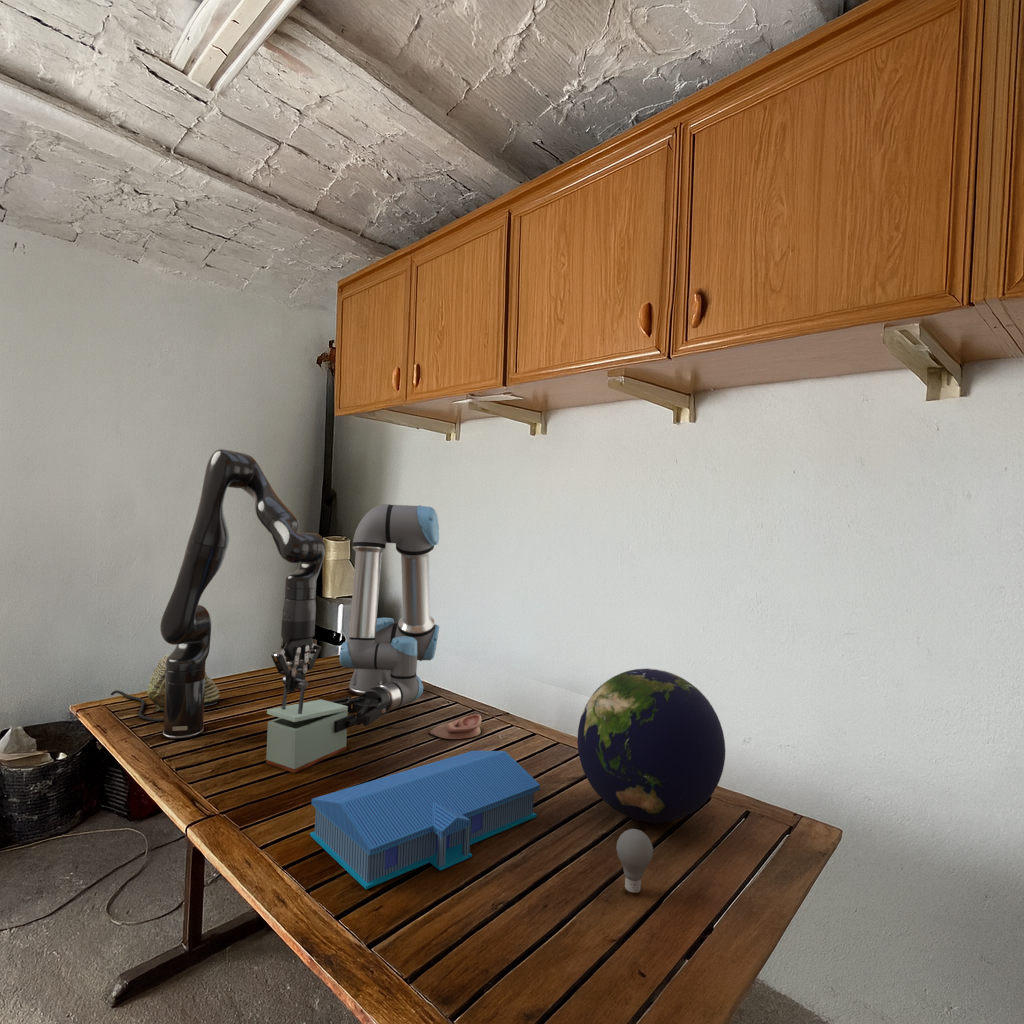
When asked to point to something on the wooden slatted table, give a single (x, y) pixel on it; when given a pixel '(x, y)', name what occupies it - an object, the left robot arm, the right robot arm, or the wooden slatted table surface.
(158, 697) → the fossil
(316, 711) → the lid
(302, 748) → the chest
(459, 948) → the wooden slatted table surface
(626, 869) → the light bulb
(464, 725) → the anatomical model
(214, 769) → the wooden slatted table surface
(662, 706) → the globe
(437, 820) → the model building
